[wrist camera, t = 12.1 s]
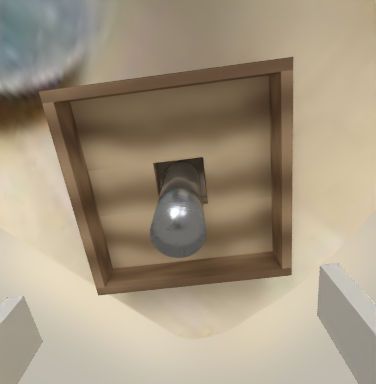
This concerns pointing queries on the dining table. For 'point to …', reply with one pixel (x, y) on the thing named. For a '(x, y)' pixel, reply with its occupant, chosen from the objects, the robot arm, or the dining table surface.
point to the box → (178, 150)
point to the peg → (179, 213)
